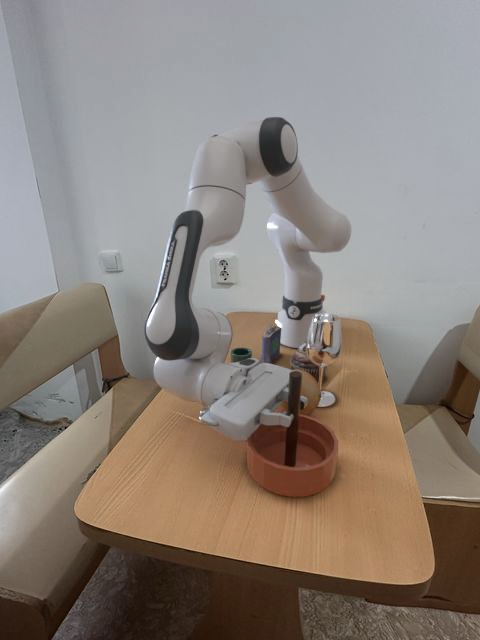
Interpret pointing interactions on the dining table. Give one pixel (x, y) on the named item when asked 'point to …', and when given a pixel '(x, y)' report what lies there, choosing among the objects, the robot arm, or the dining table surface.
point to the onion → (307, 393)
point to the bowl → (311, 458)
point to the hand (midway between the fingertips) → (299, 412)
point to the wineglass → (324, 347)
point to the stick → (294, 409)
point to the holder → (240, 354)
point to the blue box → (271, 344)
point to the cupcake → (305, 363)
